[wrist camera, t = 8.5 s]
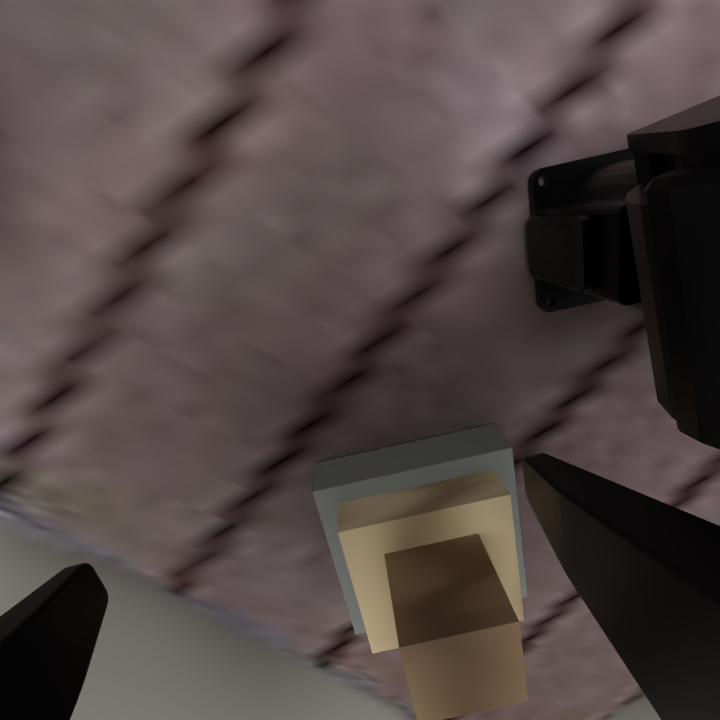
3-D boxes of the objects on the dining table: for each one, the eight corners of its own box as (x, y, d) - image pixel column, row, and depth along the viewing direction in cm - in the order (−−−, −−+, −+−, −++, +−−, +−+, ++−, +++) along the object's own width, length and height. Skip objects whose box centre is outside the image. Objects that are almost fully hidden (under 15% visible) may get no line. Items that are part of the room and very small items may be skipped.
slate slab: (493, 423, 23) (512, 447, 21) (509, 562, 26) (527, 597, 24) (314, 463, 23) (312, 491, 21) (353, 597, 26) (355, 634, 24)
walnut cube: (478, 533, 20) (519, 621, 15) (488, 603, 21) (528, 701, 17) (384, 553, 20) (399, 647, 15) (400, 622, 21) (418, 724, 17)
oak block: (494, 469, 21) (510, 494, 19) (508, 587, 24) (524, 620, 22) (337, 503, 21) (337, 532, 19) (369, 618, 24) (372, 653, 22)
